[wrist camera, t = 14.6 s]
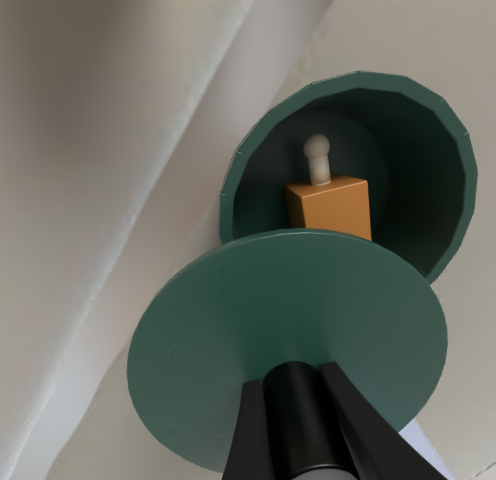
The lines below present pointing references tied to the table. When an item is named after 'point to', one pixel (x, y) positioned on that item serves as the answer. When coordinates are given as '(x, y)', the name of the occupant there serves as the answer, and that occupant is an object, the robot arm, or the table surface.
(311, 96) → the pot
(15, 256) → the table surface
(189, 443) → the lid
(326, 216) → the orange block with knob
